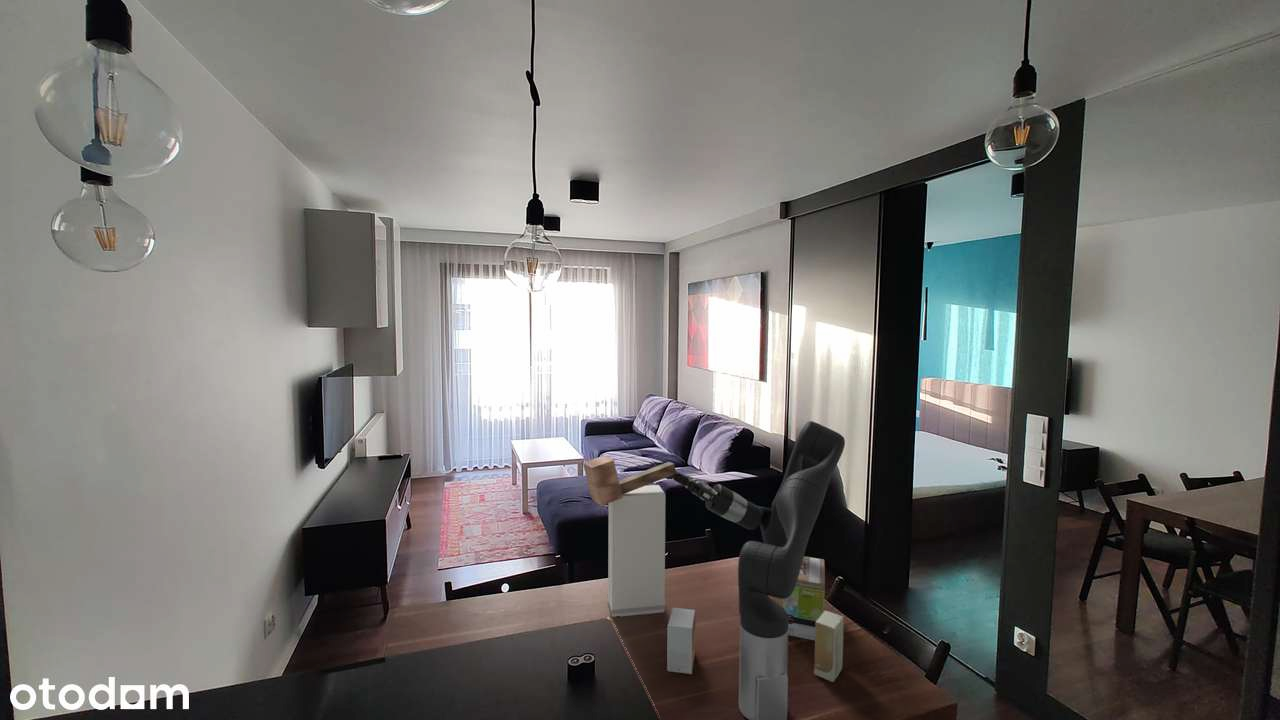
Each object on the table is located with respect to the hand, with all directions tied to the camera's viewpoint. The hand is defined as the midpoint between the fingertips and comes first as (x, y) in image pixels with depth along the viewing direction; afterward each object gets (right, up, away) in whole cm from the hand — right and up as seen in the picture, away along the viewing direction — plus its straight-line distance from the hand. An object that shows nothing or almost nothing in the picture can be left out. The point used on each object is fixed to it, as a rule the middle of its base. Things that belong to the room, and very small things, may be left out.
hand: (674, 475), depth 142 cm
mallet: (-10, -2, -4) cm, 11 cm away
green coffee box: (+33, -37, -7) cm, 50 cm away
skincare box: (+32, -38, -26) cm, 56 cm away
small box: (0, -38, -23) cm, 44 cm away
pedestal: (-10, -36, 0) cm, 37 cm away
